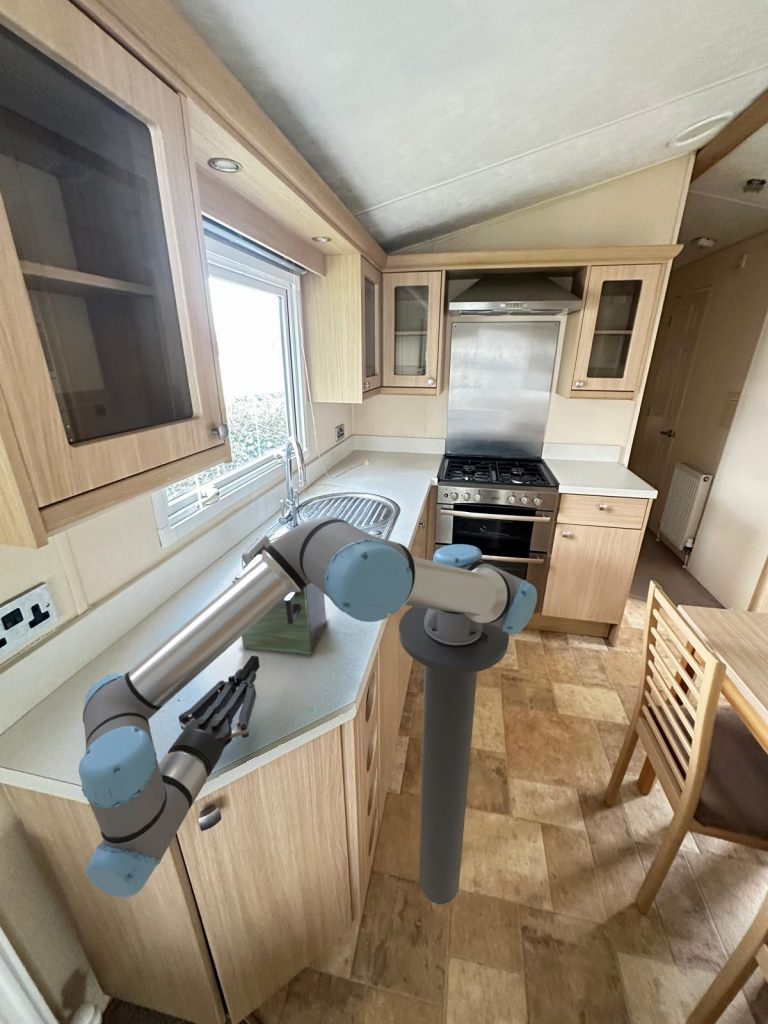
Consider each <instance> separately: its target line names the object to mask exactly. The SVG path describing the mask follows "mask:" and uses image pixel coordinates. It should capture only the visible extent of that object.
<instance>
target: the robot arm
mask: <svg viewBox="0 0 768 1024" xmlns="http://www.w3.org/2000/svg"><path fill="white" fill-rule="evenodd" d="M482 559H483V553H482V550H481V549H480V548H479V547H477V546H474V545H471V544H466V543H465V544H464V543H463V544H461V543H458V544H457V543H456V544H455V543H454V544H448V545H445V546H442V547H440V548H438V549H437V550H435V551H434V554H433V557H432V560H430V559H426V558H421V557H417V556H414V555H413V554H412V552H411V550H410V549H409V548H408V547H407V546H406V545H404V544H402V543H400V542H396V541H392V540H388V539H385V538H381V537H378V536H375V535H372V534H369V533H368V532H365V531H364V530H363V529H360V528H358V527H356V526H354V525H353V524H351V523H349V522H348V521H346V520H344V519H342V518H339V517H336V516H320V517H315V518H311V519H308V520H306V521H304V522H303V521H302V523H300V524H298V525H296V526H294V527H293V528H291V529H289V530H288V531H286V532H285V533H283V534H282V535H280V536H279V537H277V539H275V540H274V541H273V542H271V544H270V545H269V546H268V547H267V548H266V549H264V550H263V551H262V559H261V560H260V561H259V562H258V563H257V564H256V565H254V566H253V567H252V568H251V569H250V570H249V571H247V572H246V573H245V574H244V575H243V576H241V577H240V578H239V579H238V580H237V581H235V582H234V583H233V582H232V584H230V585H229V586H228V587H227V588H225V589H224V591H222V592H221V593H219V595H217V597H215V598H213V600H212V601H211V602H209V603H208V604H206V605H205V607H203V608H202V609H201V610H199V611H198V612H197V613H196V614H195V615H194V616H193V617H192V618H191V617H190V619H189V620H187V621H186V622H185V623H184V624H183V625H182V626H180V627H179V628H178V629H177V630H176V631H174V632H173V634H171V635H170V636H169V637H168V638H166V639H165V640H164V641H163V642H161V644H159V645H158V646H157V647H156V648H154V649H153V650H152V651H150V653H149V654H147V655H146V656H144V658H143V659H142V660H140V661H139V662H138V663H137V664H135V666H133V667H132V668H131V669H129V671H126V672H116V673H115V672H114V673H112V674H110V675H107V676H104V677H101V678H100V679H98V680H97V681H96V682H94V683H93V684H92V685H91V686H90V687H89V689H88V690H87V692H86V695H85V697H84V701H83V702H84V704H83V710H82V723H83V726H84V738H85V739H84V740H85V753H84V755H83V756H82V758H81V759H80V762H79V763H78V764H79V765H78V775H79V778H80V782H81V791H82V794H83V796H84V797H85V798H86V800H87V802H88V803H89V806H90V809H91V810H92V812H93V815H94V817H95V820H96V822H97V824H98V827H99V830H100V835H101V837H102V841H101V843H100V844H99V845H97V847H96V848H95V851H94V852H93V854H92V856H91V857H90V859H89V861H88V862H87V867H86V871H85V872H86V876H87V878H88V880H89V881H90V883H91V884H92V885H93V886H94V887H95V888H97V889H98V890H99V891H101V892H103V893H104V894H107V895H109V896H112V897H116V898H124V899H125V898H130V897H133V896H135V895H137V894H139V892H140V891H142V890H143V888H144V887H145V885H146V883H147V882H148V880H149V879H150V877H151V875H152V874H153V872H154V871H155V869H156V868H157V866H158V865H160V863H161V862H162V859H163V858H164V855H165V854H166V852H167V850H168V849H169V847H170V845H171V843H172V841H173V840H174V838H175V836H176V834H177V832H178V831H179V829H180V827H181V825H182V824H183V823H184V820H185V819H186V816H187V815H188V813H189V811H190V809H191V807H192V806H193V804H194V802H195V801H196V799H197V797H198V796H199V794H200V792H201V791H202V789H203V787H204V785H205V784H206V782H207V781H208V777H210V775H211V774H212V772H213V770H214V769H215V767H216V766H217V763H218V762H219V761H220V759H221V756H222V754H223V751H224V750H225V748H226V747H227V746H228V745H229V744H230V743H232V741H233V739H234V738H237V737H240V736H241V737H242V739H246V738H248V737H249V735H250V731H249V724H250V720H251V716H252V714H253V713H252V712H253V709H254V706H255V701H256V699H257V690H256V685H255V684H254V682H255V681H256V679H257V672H258V670H259V668H260V667H261V665H260V659H259V656H258V655H251V656H249V659H248V660H247V661H246V663H245V664H244V666H243V667H242V668H239V669H238V670H236V672H235V674H234V675H230V676H228V677H227V678H228V681H225V680H222V679H221V680H219V681H218V682H217V683H216V684H215V685H214V686H213V687H211V689H209V691H208V692H206V693H205V695H202V696H201V698H200V699H199V700H197V702H195V704H193V705H192V706H191V707H190V708H189V709H187V710H185V711H184V712H182V713H181V714H180V715H178V722H179V725H180V729H181V730H183V731H182V732H181V733H180V734H179V735H178V737H177V738H176V740H175V741H174V742H173V743H172V745H171V747H170V748H169V749H168V751H167V753H166V754H165V755H164V756H163V757H162V758H161V760H160V761H158V756H157V752H156V748H155V743H154V740H153V737H152V732H151V726H150V721H149V720H150V719H151V718H152V717H153V716H154V715H155V714H156V713H157V712H159V711H160V710H161V709H162V708H163V707H164V706H165V705H166V704H167V703H169V701H171V700H172V699H173V698H174V697H175V696H176V695H178V694H179V693H180V692H181V691H182V690H183V689H184V688H186V687H187V685H189V684H190V683H191V682H192V681H193V680H194V679H195V678H196V677H198V676H199V675H200V674H201V673H202V672H204V670H206V669H207V668H208V667H209V666H210V665H211V664H212V663H213V662H214V661H215V660H217V659H218V658H219V657H220V656H221V655H222V654H223V653H224V652H226V651H227V650H228V649H229V648H230V647H231V646H232V645H234V644H235V643H236V642H237V641H238V640H239V639H241V638H242V635H243V634H244V633H246V632H247V631H248V630H249V629H250V628H251V627H252V626H253V625H255V624H256V623H257V622H258V621H259V620H260V619H261V618H262V617H264V616H265V615H266V614H267V613H268V612H269V611H270V610H271V609H272V608H274V607H275V606H276V605H277V604H278V603H279V602H280V601H281V600H283V599H284V598H285V597H286V596H287V595H288V594H289V593H291V592H300V591H302V590H303V589H304V588H305V587H306V586H307V585H309V584H310V583H313V584H314V585H315V586H316V587H317V588H319V589H320V590H321V591H322V592H323V593H324V596H326V597H327V598H328V599H329V600H330V601H331V602H332V604H333V605H334V606H335V607H336V608H338V609H339V610H340V612H342V613H344V614H346V615H347V616H350V617H351V618H353V619H355V620H357V621H360V622H366V623H374V622H380V621H383V620H385V619H388V618H389V614H392V615H394V614H396V613H397V612H398V611H399V610H400V609H402V608H404V606H408V607H413V606H414V607H422V608H428V611H427V613H426V615H425V619H424V631H425V633H426V635H427V636H428V637H429V638H430V639H431V640H433V641H434V642H436V643H438V644H441V645H444V646H448V647H466V646H470V645H472V644H474V643H476V642H477V641H479V639H480V638H481V636H484V637H485V638H487V637H488V635H486V634H485V633H484V632H483V623H485V624H492V625H494V626H497V627H498V628H500V629H502V631H503V632H507V633H509V635H511V636H512V635H517V634H519V633H520V632H521V631H522V630H523V629H524V628H525V627H526V626H527V624H528V623H529V621H530V620H531V618H532V616H533V614H534V611H535V608H536V607H537V602H538V591H537V589H536V587H535V586H534V585H533V584H532V583H529V582H528V581H527V580H526V579H522V578H519V577H518V576H515V575H513V574H511V573H509V572H507V571H505V570H503V569H501V568H498V567H496V566H494V565H492V564H490V563H487V562H485V561H484V560H482ZM239 710H240V712H239ZM238 712H239V715H238V720H236V721H235V724H234V727H233V728H232V724H233V721H234V718H235V716H236V715H237V714H238Z"/></svg>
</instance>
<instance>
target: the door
mask: <svg viewBox="0 0 768 1024" xmlns="http://www.w3.org/2000/svg"><path fill="white" fill-rule="evenodd" d="M237 580H238V579H235V578H234V579H233V580H232V584H233V583H234V582H235V581H237ZM241 641H242V647H243V649H251V650H261V651H270V652H271V651H272V652H280V653H281V652H282V653H292V654H300V655H301V654H303V655H311V654H312V652H313V651H311V640H310V630H309V620H308V609H307V599H306V589H305V588H304V589H303V590H302V591H300V592H291V593H289V594H288V595H287V596H286V597H285V598H284V599H283V600H281V601H280V602H279V603H278V604H277V605H276V606H275V607H274V608H272V609H271V610H270V611H269V612H268V613H267V614H266V615H265V616H264V617H262V618H261V619H260V620H259V621H258V622H257V623H256V624H255V625H253V626H252V627H251V628H250V629H249V630H248V631H247V632H246V633H244V634H243V635H242V636H241Z"/></svg>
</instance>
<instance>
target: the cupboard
mask: <svg viewBox="0 0 768 1024" xmlns="http://www.w3.org/2000/svg"><path fill="white" fill-rule="evenodd" d="M261 559H262V555H257V556H256V557H255V558H254V559H253V560H252V561H251V562H250V563H249V564H248V565H247V566H246V567H245V568H244V567H243V569H242V570H241V571H240V572H239V573H238V574H237V575H236V576H235V577H234V579H239V578H240V577H241V576H243V575H244V574H245V573H246V572H247V571H249V570H250V569H251V568H252V567H253V566H254V565H256V564H257V563H258V562H259V561H260V560H261ZM305 589H306V599H307V609H308V620H309V630H310V640H311V651H312V652H313V651H314V649H315V646H316V645H317V642H318V641H319V639H320V636H321V634H322V632H323V629H324V627H325V626H326V624H327V613H326V601H325V600H326V599H325V594H324V593H323V592H322V591H321V590H320V589H319V588H317V587H316V586H315V585H314V584H313V583H310V584H309V585H307V586H306V587H305Z"/></svg>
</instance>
